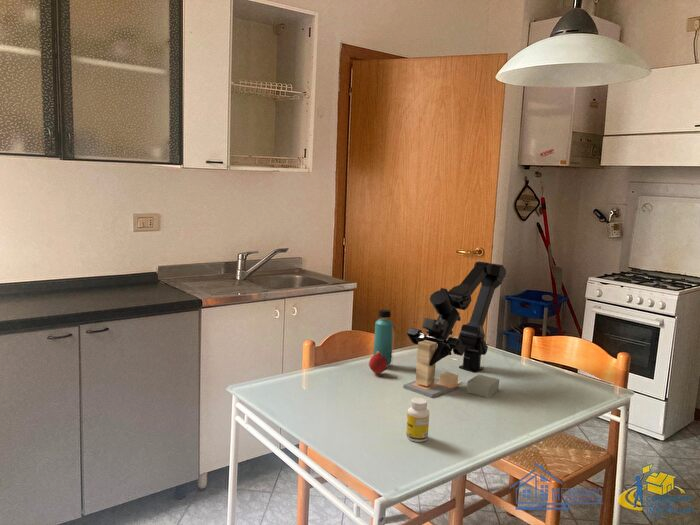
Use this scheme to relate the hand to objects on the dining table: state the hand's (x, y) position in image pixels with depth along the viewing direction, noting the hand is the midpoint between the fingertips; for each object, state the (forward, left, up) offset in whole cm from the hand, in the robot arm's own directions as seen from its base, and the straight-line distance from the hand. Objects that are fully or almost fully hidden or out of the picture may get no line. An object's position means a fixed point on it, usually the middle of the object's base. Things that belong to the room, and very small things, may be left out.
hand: (423, 363), depth 181 cm
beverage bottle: (-7, -23, -9) cm, 26 cm away
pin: (-1, 0, -7) cm, 7 cm away
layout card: (-13, +1, -8) cm, 16 cm away
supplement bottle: (+30, +21, -9) cm, 37 cm away
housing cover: (-14, +13, -8) cm, 21 cm away
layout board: (-3, +1, -8) cm, 9 cm away
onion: (+1, -18, -9) cm, 20 cm away
